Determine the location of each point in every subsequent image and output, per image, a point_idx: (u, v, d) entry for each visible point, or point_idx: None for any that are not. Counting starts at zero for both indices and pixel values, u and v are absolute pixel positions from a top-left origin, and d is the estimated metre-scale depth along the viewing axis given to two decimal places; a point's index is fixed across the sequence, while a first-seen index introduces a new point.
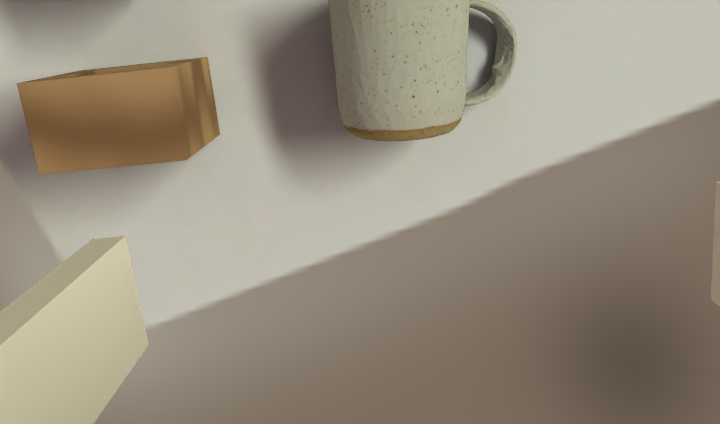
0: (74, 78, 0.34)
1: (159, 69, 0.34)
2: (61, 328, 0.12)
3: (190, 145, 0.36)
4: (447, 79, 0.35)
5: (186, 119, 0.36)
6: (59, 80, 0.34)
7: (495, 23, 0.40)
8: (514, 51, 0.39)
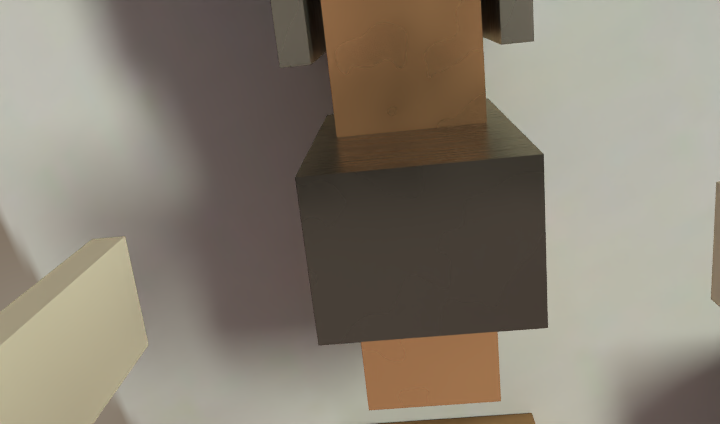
0: None
1: None
2: (61, 328, 0.12)
3: None
4: None
5: None
6: None
7: None
8: None
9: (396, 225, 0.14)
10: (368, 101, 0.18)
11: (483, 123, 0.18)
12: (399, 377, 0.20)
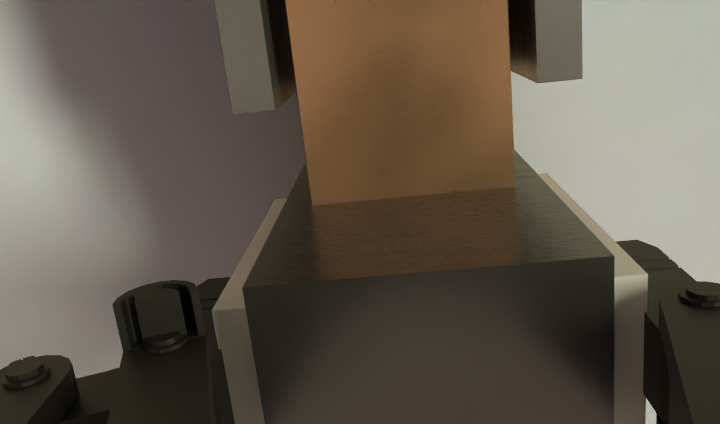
0: None
1: None
2: None
3: None
4: None
5: None
6: None
7: None
8: None
9: (392, 356, 0.10)
10: (354, 158, 0.13)
11: (510, 188, 0.13)
12: None
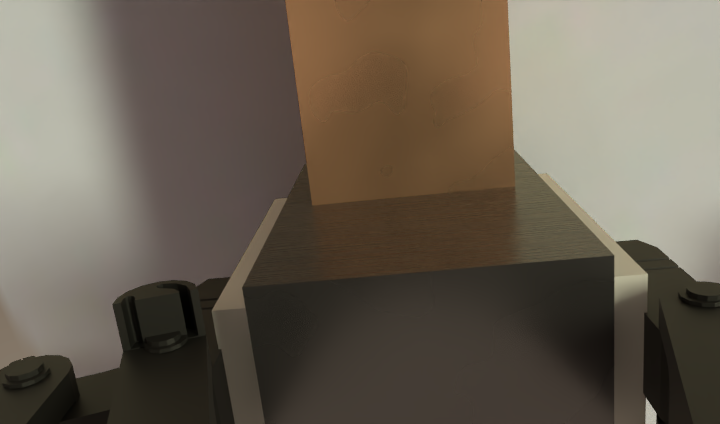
0: None
1: None
2: None
3: None
4: None
5: None
6: None
7: None
8: None
9: (392, 356, 0.10)
10: (354, 157, 0.13)
11: (510, 187, 0.13)
12: None
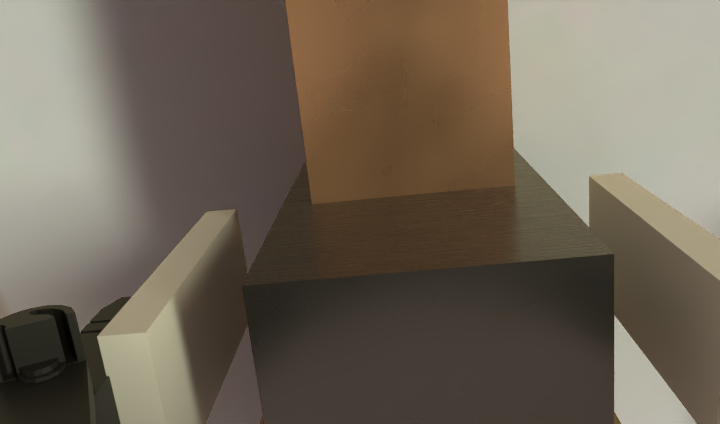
0: None
1: None
2: (205, 286, 0.13)
3: None
4: None
5: None
6: None
7: None
8: None
9: (392, 355, 0.10)
10: (354, 156, 0.13)
11: (510, 186, 0.13)
12: None
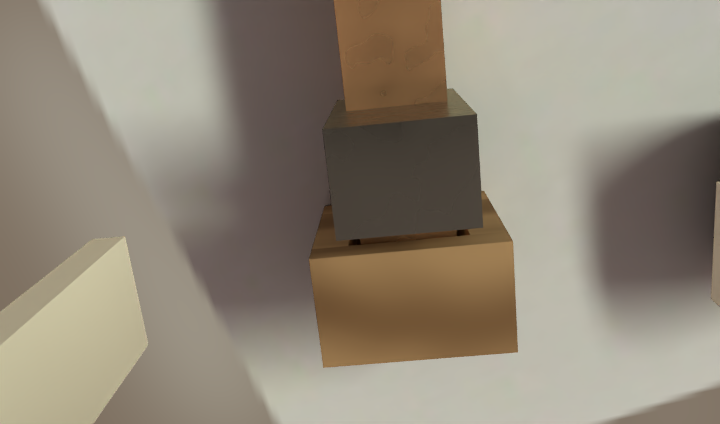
0: (385, 253, 0.26)
1: (499, 243, 0.26)
2: (61, 328, 0.12)
3: None
4: None
5: None
6: (365, 256, 0.26)
7: None
8: None
9: (385, 160, 0.23)
10: (367, 86, 0.26)
11: (445, 101, 0.26)
12: None
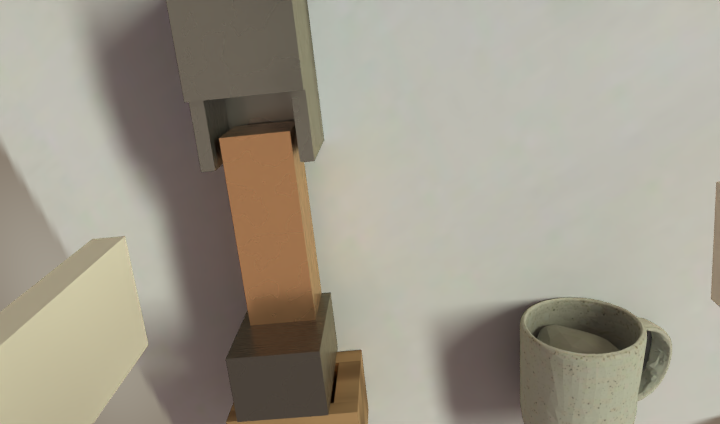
0: (275, 419, 0.40)
1: (348, 413, 0.40)
2: (61, 328, 0.12)
3: None
4: (628, 412, 0.41)
5: None
6: (262, 420, 0.41)
7: (652, 331, 0.46)
8: (669, 357, 0.45)
9: (265, 376, 0.37)
10: (263, 311, 0.40)
11: (313, 320, 0.40)
12: None
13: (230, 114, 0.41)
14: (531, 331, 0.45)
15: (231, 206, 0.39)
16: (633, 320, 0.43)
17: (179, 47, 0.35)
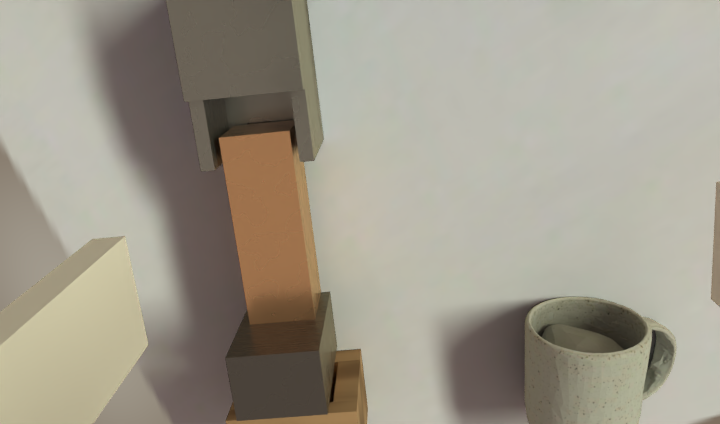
0: (275, 418, 0.41)
1: (348, 412, 0.40)
2: (61, 328, 0.12)
3: None
4: (633, 412, 0.41)
5: None
6: (262, 419, 0.41)
7: (656, 330, 0.46)
8: (674, 356, 0.46)
9: (265, 375, 0.37)
10: (263, 310, 0.40)
11: (313, 319, 0.40)
12: None
13: (230, 113, 0.41)
14: (535, 331, 0.45)
15: (231, 205, 0.39)
16: (638, 319, 0.43)
17: (179, 47, 0.35)
